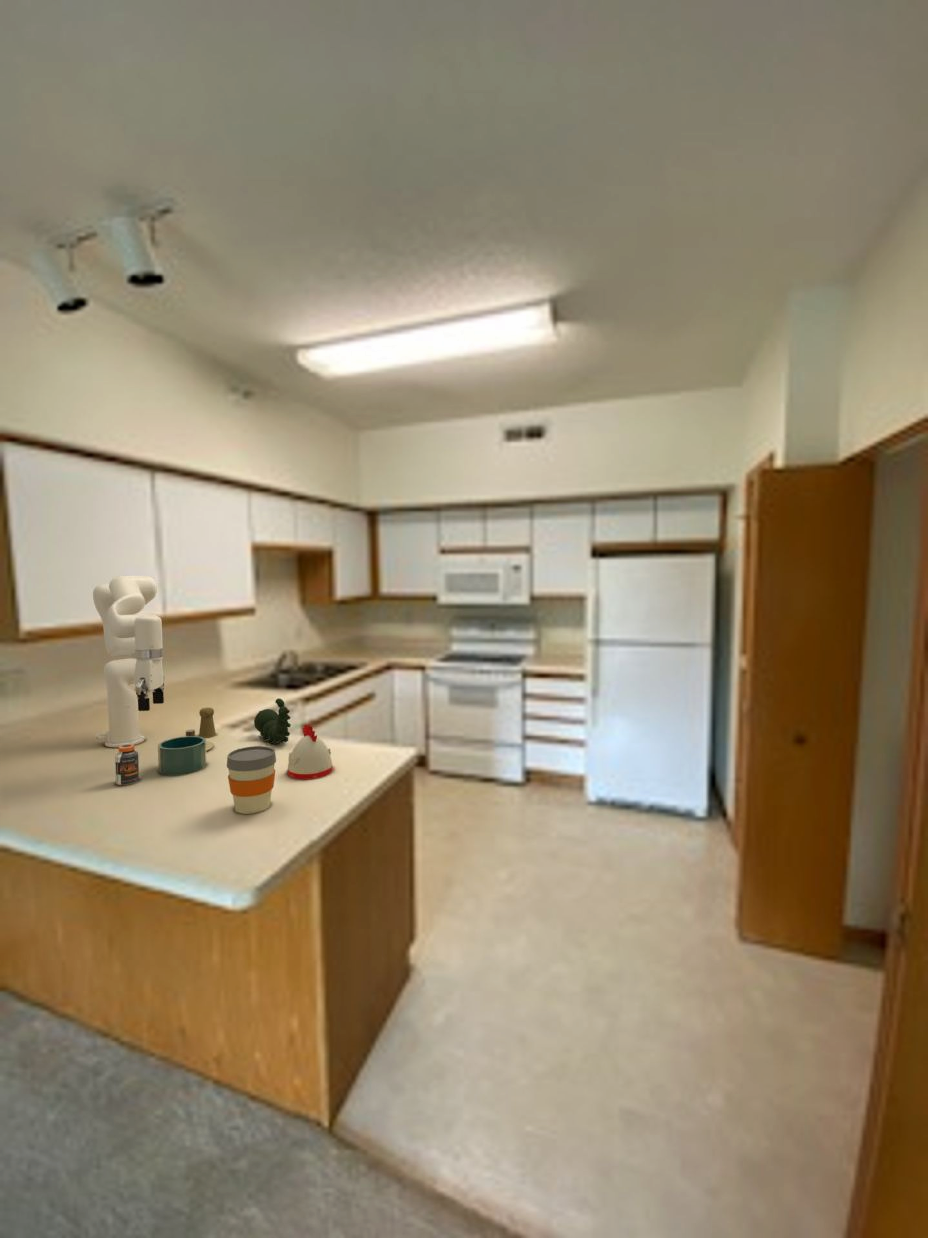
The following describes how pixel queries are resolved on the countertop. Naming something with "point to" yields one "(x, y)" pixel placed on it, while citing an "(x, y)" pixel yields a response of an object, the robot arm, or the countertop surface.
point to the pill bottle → (127, 765)
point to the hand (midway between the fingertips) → (151, 707)
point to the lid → (192, 733)
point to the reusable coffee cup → (251, 778)
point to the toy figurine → (273, 723)
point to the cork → (207, 723)
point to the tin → (182, 755)
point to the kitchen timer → (309, 757)
